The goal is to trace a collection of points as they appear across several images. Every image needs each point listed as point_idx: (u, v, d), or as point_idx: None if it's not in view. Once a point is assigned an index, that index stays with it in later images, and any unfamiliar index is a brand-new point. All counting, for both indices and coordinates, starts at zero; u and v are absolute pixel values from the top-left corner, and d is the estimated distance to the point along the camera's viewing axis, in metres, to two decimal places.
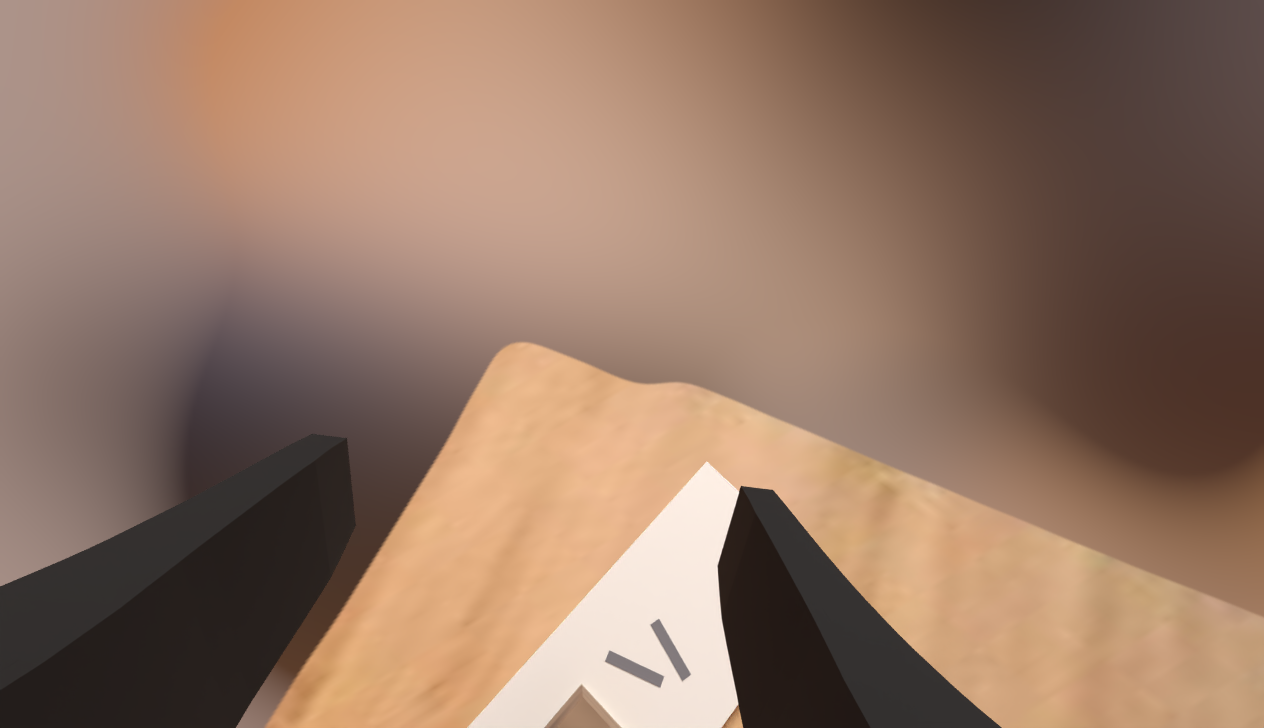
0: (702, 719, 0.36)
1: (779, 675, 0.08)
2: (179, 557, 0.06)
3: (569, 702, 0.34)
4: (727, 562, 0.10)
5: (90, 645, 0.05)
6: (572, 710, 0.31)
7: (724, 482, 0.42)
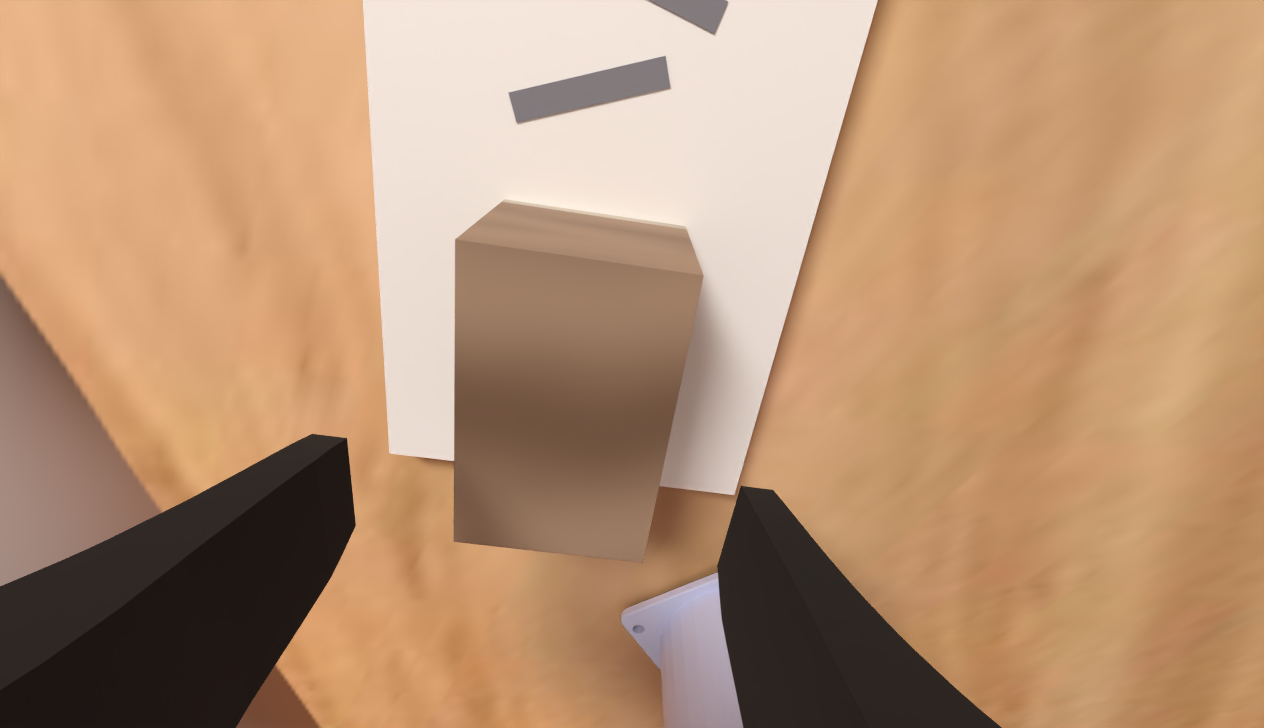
0: (803, 85, 0.14)
1: (779, 675, 0.08)
2: (179, 557, 0.06)
3: None
4: (727, 562, 0.10)
5: (90, 645, 0.05)
6: (457, 281, 0.11)
7: None
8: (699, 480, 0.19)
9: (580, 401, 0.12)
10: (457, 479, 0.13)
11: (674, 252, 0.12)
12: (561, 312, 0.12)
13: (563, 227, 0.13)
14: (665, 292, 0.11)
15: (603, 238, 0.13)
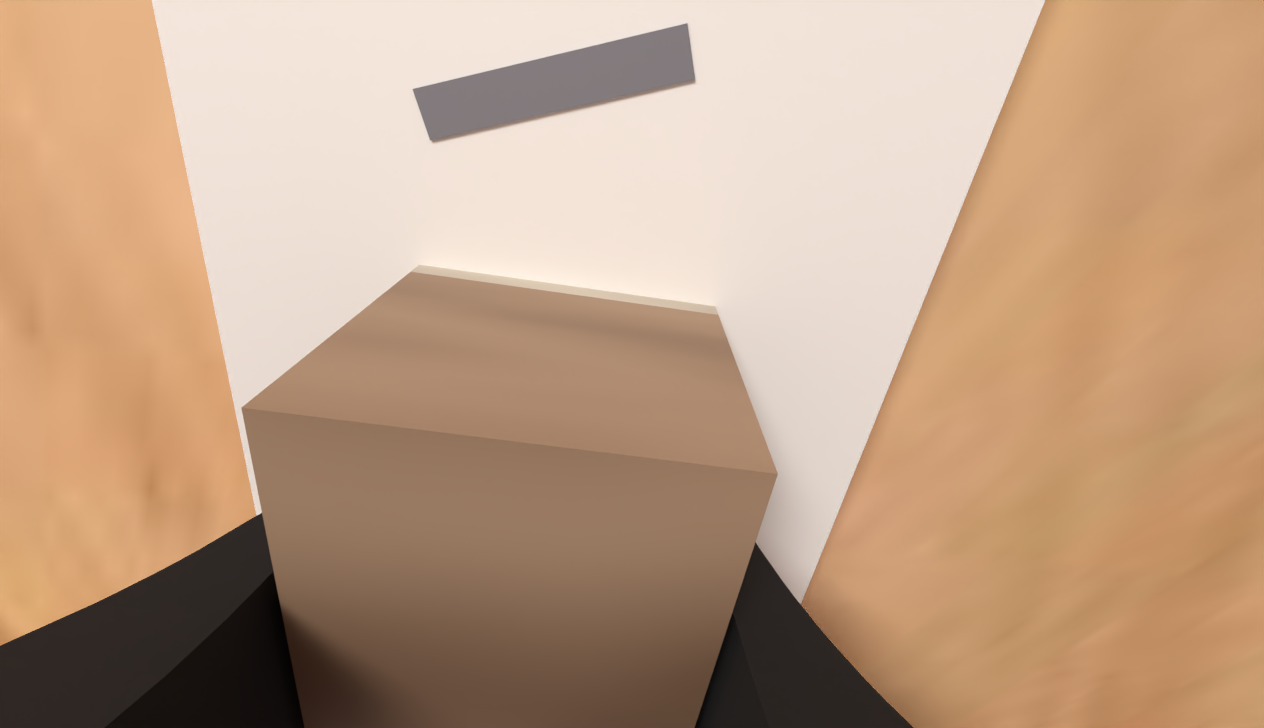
0: (927, 75, 0.08)
1: None
2: (271, 567, 0.06)
3: None
4: None
5: (203, 656, 0.05)
6: (263, 482, 0.05)
7: None
8: None
9: (531, 672, 0.07)
10: None
11: (707, 390, 0.07)
12: (483, 536, 0.06)
13: (503, 334, 0.07)
14: (695, 504, 0.05)
15: (574, 361, 0.07)
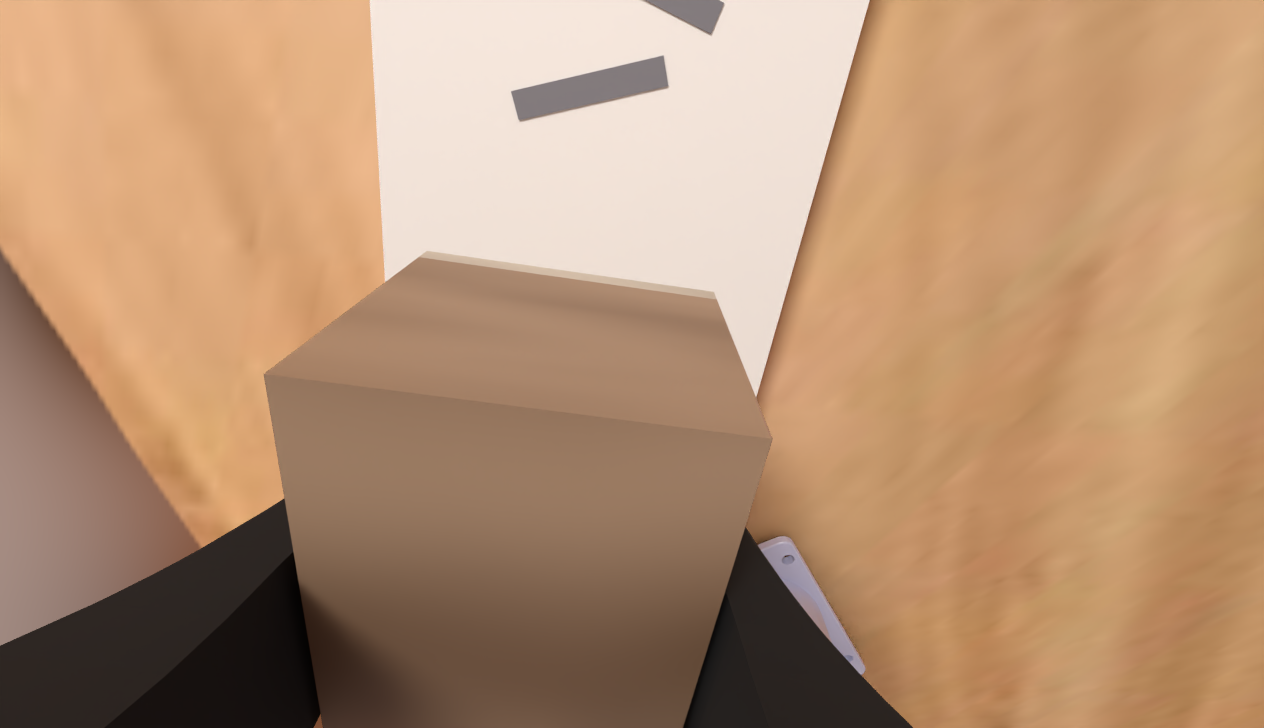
0: (797, 83, 0.14)
1: (705, 668, 0.07)
2: (271, 567, 0.06)
3: None
4: None
5: (203, 656, 0.05)
6: (283, 447, 0.06)
7: None
8: None
9: (536, 636, 0.07)
10: None
11: (706, 365, 0.07)
12: (493, 500, 0.06)
13: (509, 313, 0.07)
14: (693, 468, 0.06)
15: (578, 338, 0.07)
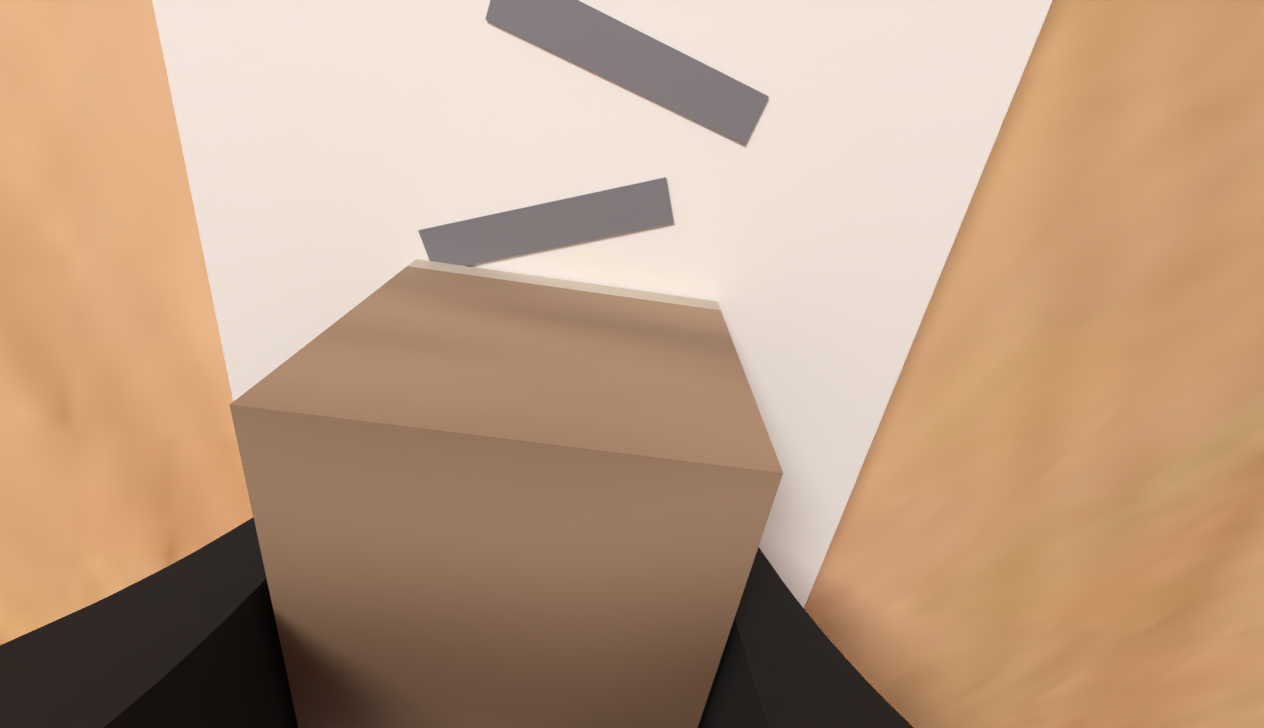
0: (884, 219, 0.09)
1: None
2: None
3: None
4: None
5: (203, 656, 0.05)
6: (254, 481, 0.05)
7: None
8: None
9: (529, 674, 0.06)
10: None
11: (710, 387, 0.06)
12: (481, 535, 0.06)
13: (501, 329, 0.07)
14: (698, 503, 0.05)
15: (574, 356, 0.07)
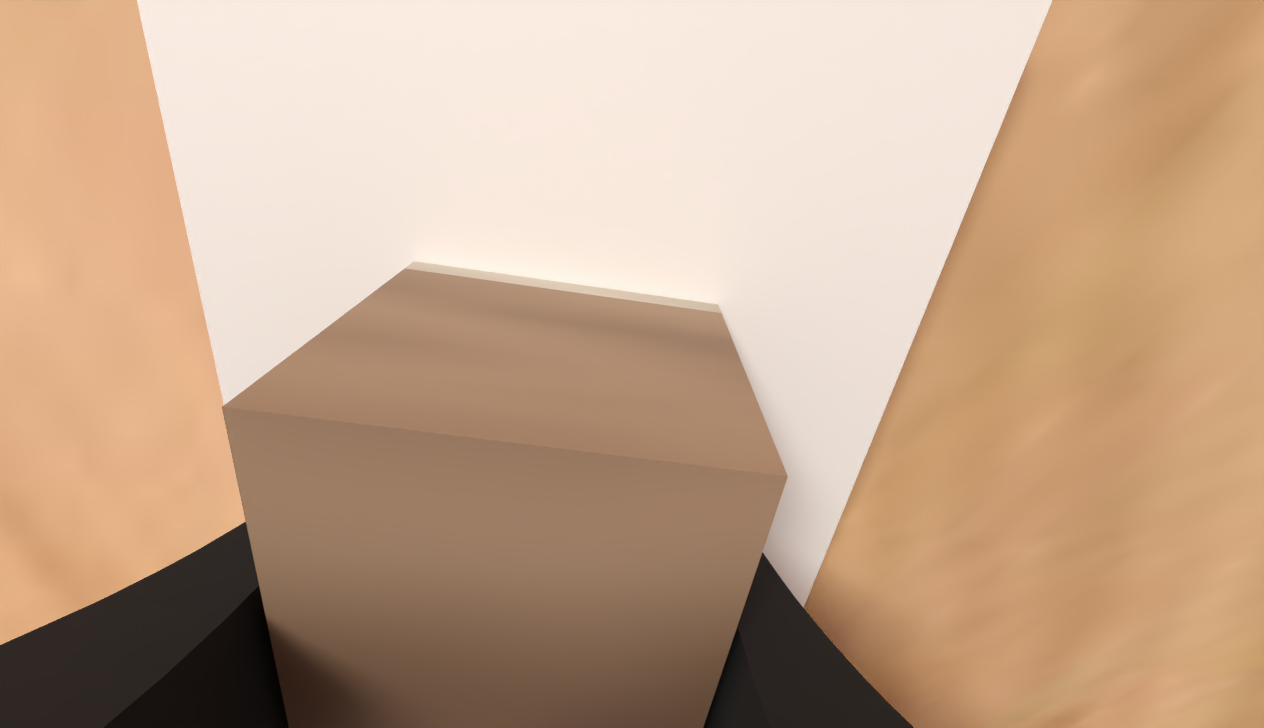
0: None
1: None
2: None
3: None
4: None
5: (202, 656, 0.05)
6: (246, 485, 0.05)
7: None
8: None
9: (527, 684, 0.06)
10: None
11: (712, 389, 0.06)
12: (478, 541, 0.05)
13: (499, 331, 0.07)
14: (700, 507, 0.05)
15: (574, 359, 0.07)
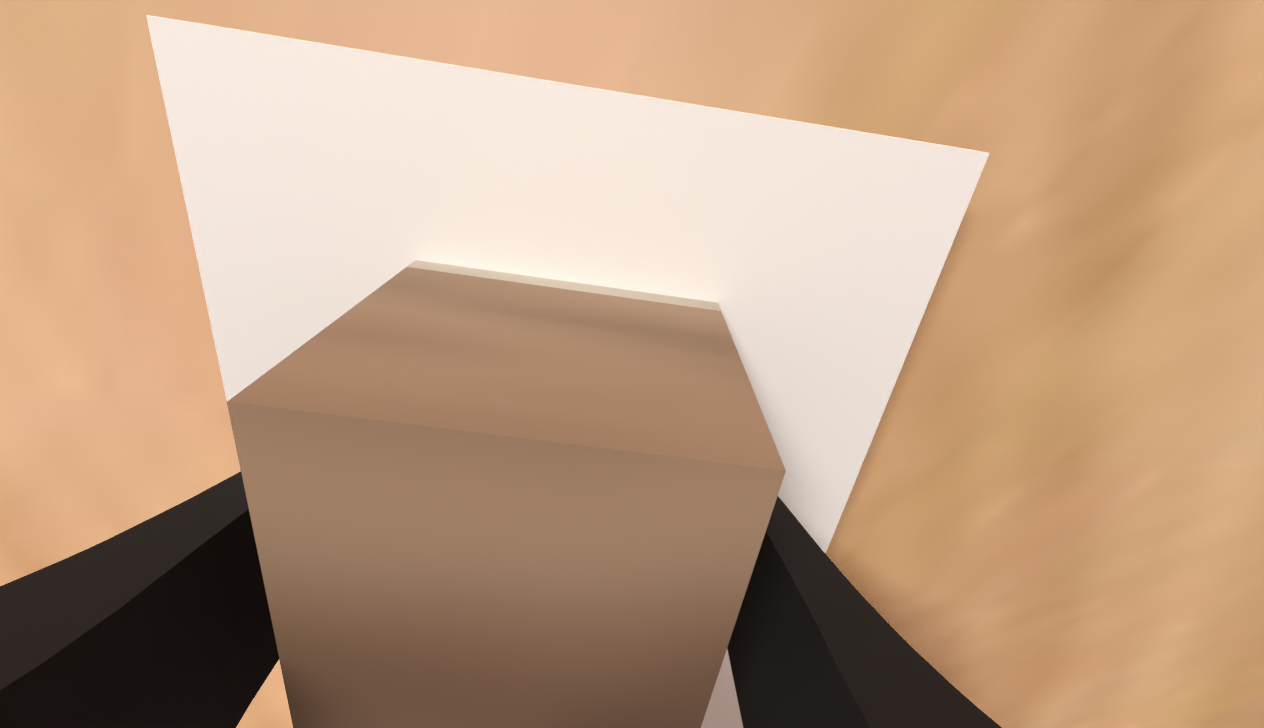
0: (718, 694, 0.14)
1: (779, 675, 0.08)
2: (179, 557, 0.06)
3: None
4: None
5: (90, 645, 0.05)
6: (251, 479, 0.05)
7: (301, 61, 0.08)
8: None
9: (528, 677, 0.06)
10: None
11: (711, 386, 0.06)
12: (479, 535, 0.05)
13: (501, 329, 0.07)
14: (700, 502, 0.05)
15: (574, 356, 0.07)
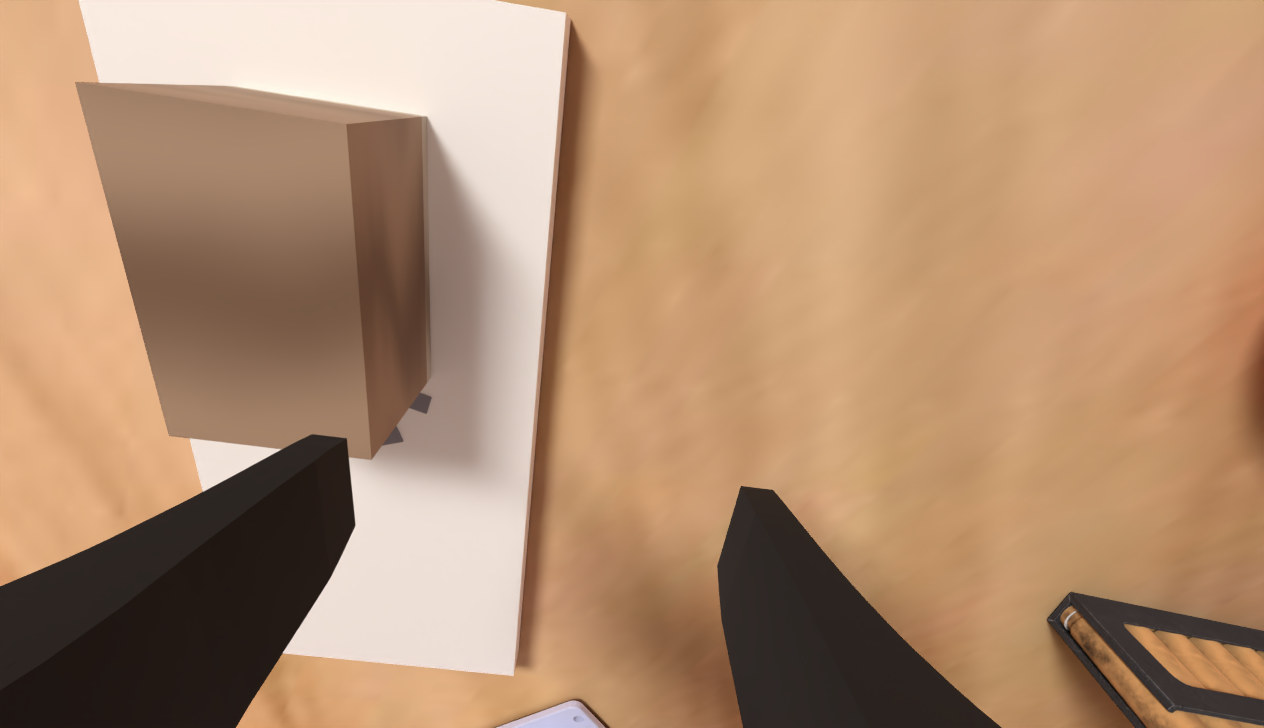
0: (497, 440, 0.19)
1: (779, 675, 0.08)
2: (179, 557, 0.06)
3: None
4: (727, 562, 0.10)
5: (90, 645, 0.05)
6: (92, 131, 0.11)
7: None
8: (484, 666, 0.25)
9: (257, 272, 0.12)
10: (153, 363, 0.13)
11: (355, 117, 0.12)
12: (209, 167, 0.11)
13: (254, 97, 0.13)
14: (311, 144, 0.11)
15: (286, 104, 0.12)
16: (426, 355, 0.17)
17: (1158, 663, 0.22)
